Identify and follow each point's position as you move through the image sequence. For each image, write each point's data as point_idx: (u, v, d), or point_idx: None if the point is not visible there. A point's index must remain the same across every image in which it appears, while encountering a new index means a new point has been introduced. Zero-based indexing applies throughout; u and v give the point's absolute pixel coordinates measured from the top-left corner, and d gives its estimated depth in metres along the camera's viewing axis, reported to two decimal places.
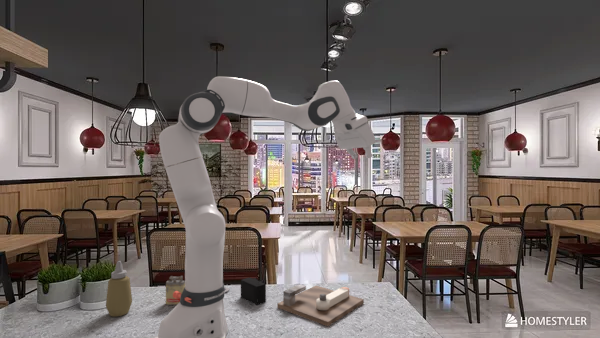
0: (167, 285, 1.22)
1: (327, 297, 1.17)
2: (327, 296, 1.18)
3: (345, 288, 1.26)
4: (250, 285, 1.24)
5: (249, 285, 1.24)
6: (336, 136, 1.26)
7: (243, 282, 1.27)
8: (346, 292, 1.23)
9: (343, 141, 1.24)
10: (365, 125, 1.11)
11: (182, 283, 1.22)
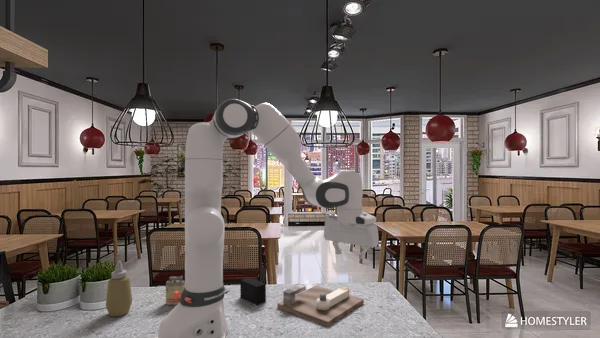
0: (167, 285, 1.22)
1: (327, 297, 1.17)
2: (327, 296, 1.18)
3: (345, 288, 1.26)
4: (250, 285, 1.24)
5: (249, 286, 1.24)
6: (328, 224, 1.19)
7: (243, 282, 1.27)
8: (346, 292, 1.23)
9: (335, 232, 1.17)
10: (374, 225, 1.10)
11: (182, 283, 1.22)
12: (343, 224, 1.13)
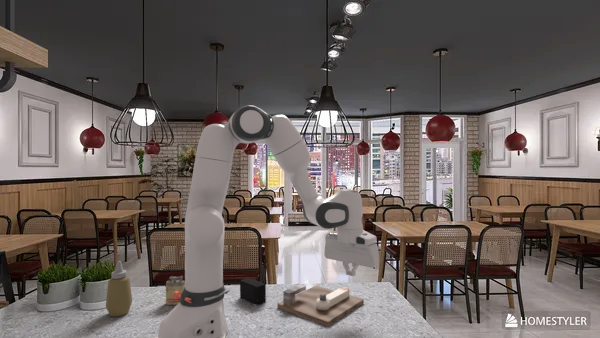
0: (167, 285, 1.22)
1: (327, 297, 1.17)
2: (327, 296, 1.18)
3: (345, 288, 1.26)
4: (250, 285, 1.23)
5: (249, 286, 1.24)
6: (329, 243, 1.19)
7: (242, 282, 1.26)
8: (346, 292, 1.23)
9: (336, 251, 1.17)
10: (374, 245, 1.10)
11: (182, 283, 1.22)
12: (343, 243, 1.13)
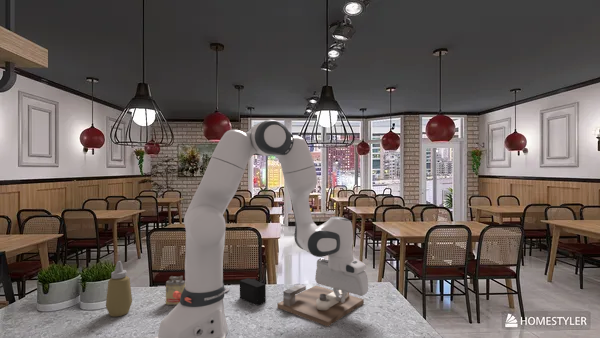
0: (167, 285, 1.22)
1: (327, 297, 1.17)
2: (327, 296, 1.18)
3: None
4: (250, 286, 1.23)
5: (249, 286, 1.24)
6: (320, 269, 1.21)
7: (242, 283, 1.26)
8: None
9: (326, 277, 1.19)
10: (364, 273, 1.13)
11: (182, 283, 1.22)
12: (334, 270, 1.16)
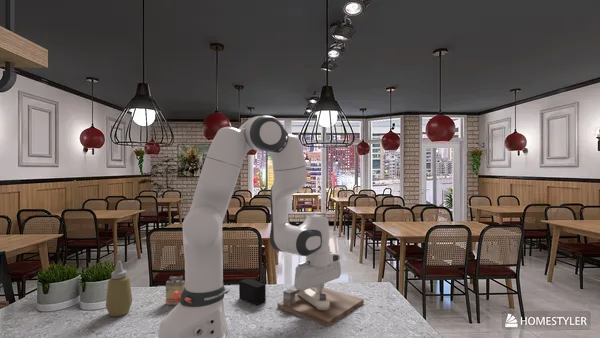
0: (167, 285, 1.22)
1: (317, 297, 1.17)
2: (315, 297, 1.18)
3: None
4: (250, 286, 1.23)
5: (249, 286, 1.23)
6: (305, 274, 1.15)
7: (242, 283, 1.26)
8: None
9: (312, 278, 1.17)
10: None
11: (182, 283, 1.22)
12: (322, 267, 1.18)
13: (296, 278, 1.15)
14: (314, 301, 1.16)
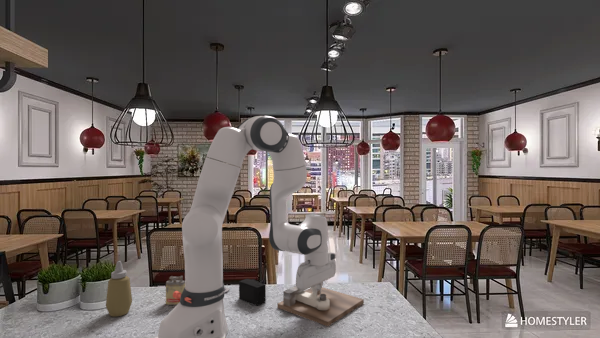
0: (167, 285, 1.22)
1: (315, 298, 1.17)
2: (313, 298, 1.17)
3: None
4: (250, 286, 1.23)
5: (249, 287, 1.23)
6: (307, 273, 1.15)
7: (242, 283, 1.26)
8: None
9: (312, 277, 1.18)
10: None
11: (182, 283, 1.22)
12: (322, 266, 1.20)
13: (298, 278, 1.15)
14: (313, 302, 1.15)
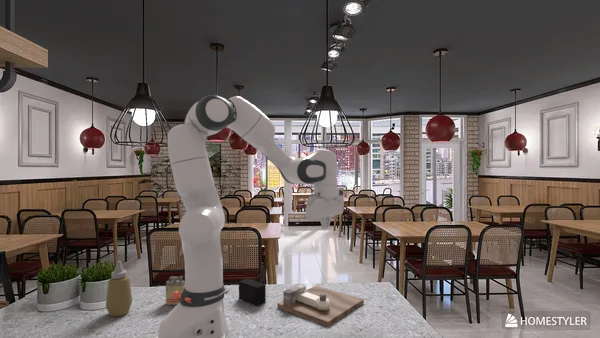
0: (167, 285, 1.22)
1: (315, 298, 1.17)
2: (313, 298, 1.17)
3: None
4: (250, 286, 1.22)
5: (248, 287, 1.23)
6: (317, 203, 1.19)
7: (241, 284, 1.25)
8: None
9: (322, 209, 1.21)
10: None
11: (182, 283, 1.22)
12: (331, 199, 1.23)
13: (309, 208, 1.18)
14: (313, 302, 1.15)
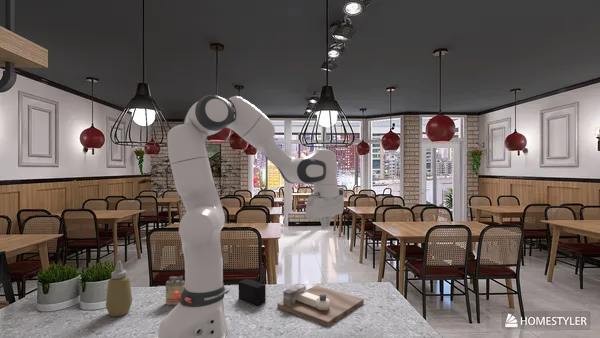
0: (167, 285, 1.22)
1: (315, 298, 1.17)
2: (313, 298, 1.17)
3: None
4: (250, 286, 1.22)
5: (248, 287, 1.23)
6: (317, 203, 1.19)
7: (241, 284, 1.25)
8: None
9: (322, 209, 1.21)
10: None
11: (182, 283, 1.22)
12: (331, 198, 1.23)
13: (308, 207, 1.18)
14: (313, 302, 1.15)
